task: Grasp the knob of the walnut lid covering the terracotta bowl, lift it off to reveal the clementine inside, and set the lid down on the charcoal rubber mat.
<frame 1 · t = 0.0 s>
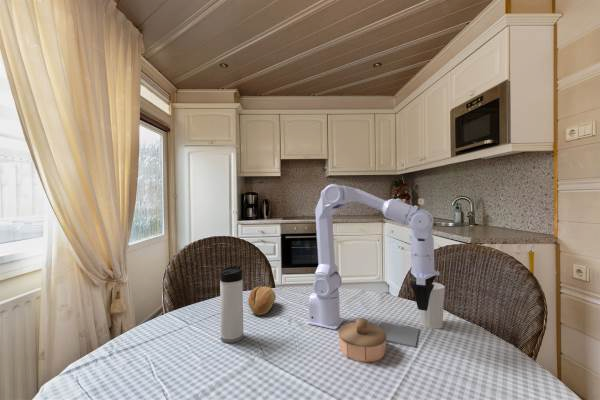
hand: (423, 304, 73), 10 cm above the table, fingers open, 7 cm apart
bowl: (362, 349, 70), on the table
lid: (362, 334, 70), point 4 cm above the table, touching bowl
mat: (396, 334, 78), on the table
cup: (431, 324, 84), on the table
travel mug: (232, 338, 78), on the table
clementine: (363, 343, 69), point 2 cm above the table, touching bowl
bread roll: (262, 310, 99), on the table
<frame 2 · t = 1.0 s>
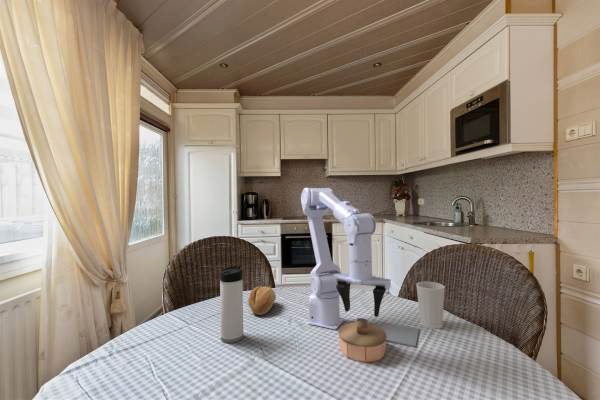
hand: (361, 312, 70), 10 cm above the table, fingers open, 7 cm apart
nothing on the table moved.
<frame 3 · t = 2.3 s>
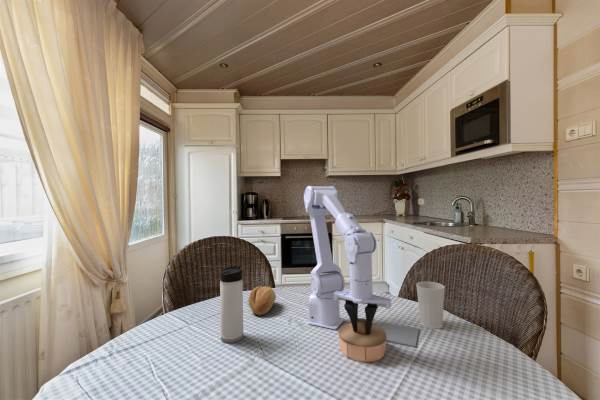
hand: (362, 331, 70), 5 cm above the table, fingers closed on lid, 3 cm apart
lid: (362, 334, 70), point 4 cm above the table, touching bowl, gripper
everything else where it was.
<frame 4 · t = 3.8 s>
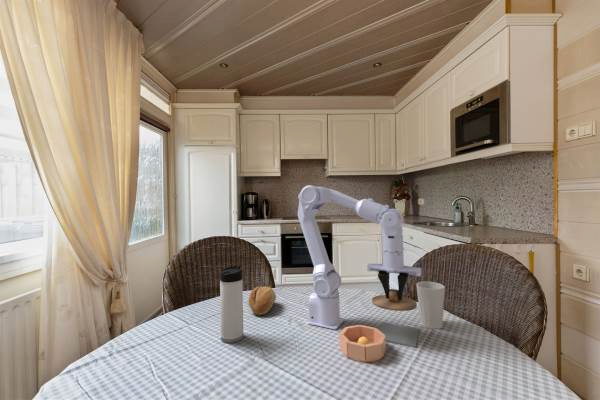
hand: (394, 298, 78), 10 cm above the table, fingers closed on lid, 3 cm apart
lid: (393, 303, 77), point 9 cm above the table, touching gripper
everything else where it was.
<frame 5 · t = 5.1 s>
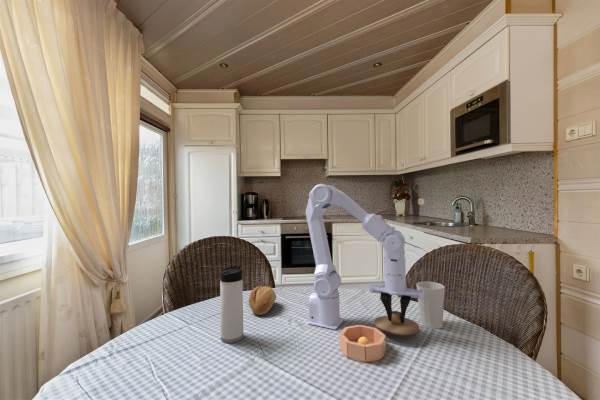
hand: (396, 320, 78), 4 cm above the table, fingers closed on lid, 3 cm apart
lid: (396, 325, 78), point 3 cm above the table, touching gripper
everything else where it was.
when the fingers open (2 cm above the table, at t = 5.8 s): lid stays where it is, resting on mat.
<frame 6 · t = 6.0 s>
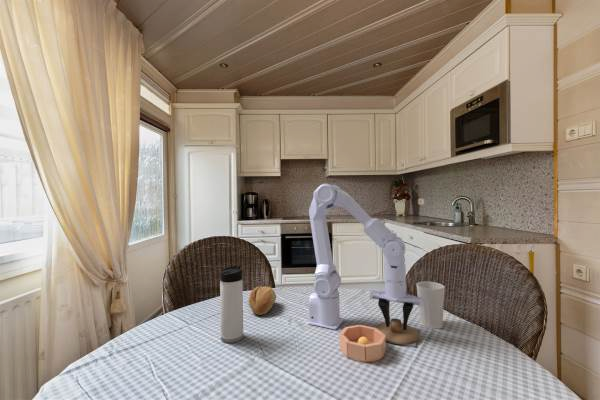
hand: (396, 327, 78), 2 cm above the table, fingers open, 4 cm apart
lid: (396, 333, 78), resting on mat
everything else where it was.
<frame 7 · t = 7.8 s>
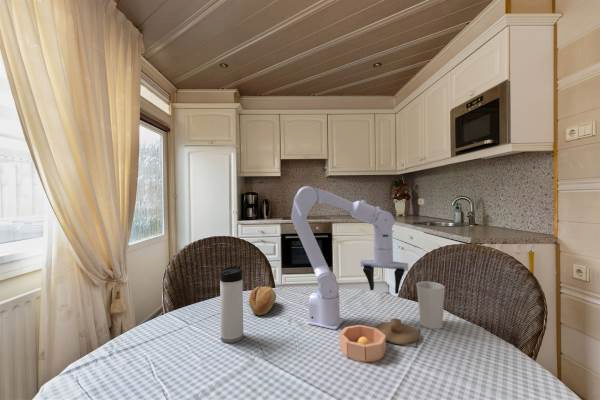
hand: (384, 291, 86), 10 cm above the table, fingers open, 7 cm apart
nothing on the table moved.
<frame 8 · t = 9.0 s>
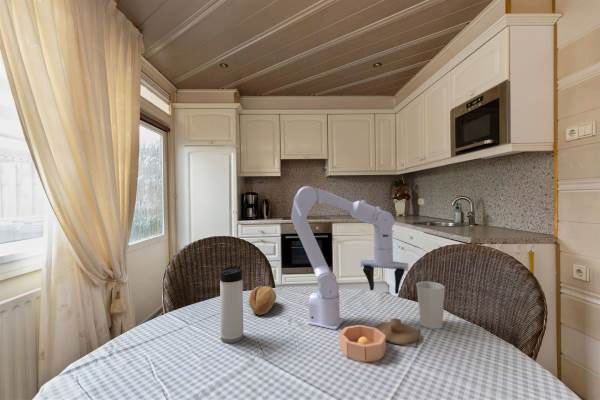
hand: (384, 291, 86), 10 cm above the table, fingers open, 7 cm apart
nothing on the table moved.
at the end: lid inside the target area on the mat (0.4 cm from its centre), point 0.4 cm above the mat's base; lid tilted 0°; lid touching mat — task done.
